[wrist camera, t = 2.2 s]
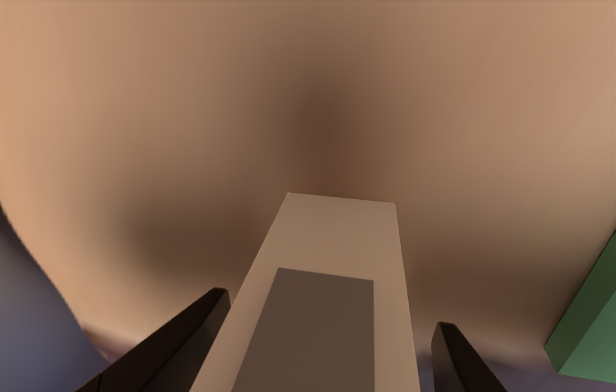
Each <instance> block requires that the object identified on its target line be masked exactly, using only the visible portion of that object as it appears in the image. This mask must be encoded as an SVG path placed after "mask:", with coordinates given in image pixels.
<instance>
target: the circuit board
mask: <svg viewBox="0 0 616 392" xmlns="http://www.w3.org/2000/svg"><path fill="white" fill-rule="evenodd" d="M544 349H545V351H546V353H547V355H548V357H549V358H550V360H551V362H552V364H553V366H554V368H555V370H556V372H557V373H558V374H562V375H568V376H574V377H580V378H586V379H592V380H598V381H604V382H610V383H616V232H615V233H614V235H613V236H612V238H611V240H610V241H609V243H608V245H607V246H606V248H605V249H604V251H603V253H602V254H601V256H600V257H599V259H598V261H597V262H596V264H595V266H594V267H593V269H592V270H591V272H590V274H589V275H588V277H587V279H586V280H585V282H584V283H583V285H582V287H581V288H580V290H579V291H578V293H577V295H576V296H575V298H574V300H573V301H572V303H571V304H570V306H569V308H568V309H567V311H566V313H565V314H564V316H563V317H562V319H561V321H560V322H559V324H558V325H557V327H556V329H555V330H554V332H553V334H552V335H551V337H550V338H549V340H548V342H547V343H546V345H545V347H544Z"/></svg>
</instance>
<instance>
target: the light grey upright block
mask: <svg viewBox="0 0 616 392" xmlns="http://www.w3.org/2000/svg"><path fill="white" fill-rule="evenodd" d="M189 392H420V385H419V377H418V370H417V362H416V355H415V347H414V340H413V333H412V325H411V318H410V310H409V303H408V295H407V288H406V280H405V273H404V266H403V258H402V251H401V243H400V236H399V228H398V221H397V213H396V206H395V203H388V202H379V201H369V200H359V199H349V198H339V197H329V196H319V195H309V194H300V193H290V192H288V193H287V195H286V197H285V199H284V201H283V203H282V205H281V207H280V209H279V211H278V213H277V215H276V217H275V219H274V221H273V223H272V225H271V227H270V229H269V231H268V234H267V236H266V238H265V240H264V242H263V244H262V246H261V248H260V250H259V252H258V254H257V256H256V258H255V260H254V262H253V264H252V266H251V268H250V270H249V272H248V274H247V276H246V278H245V280H244V282H243V284H242V286H241V288H240V290H239V292H238V294H237V296H236V298H235V300H234V302H233V304H232V306H231V308H230V310H229V312H228V314H227V316H226V319H225V321H224V323H223V325H222V327H221V329H220V331H219V333H218V335H217V337H216V339H215V341H214V343H213V345H212V347H211V349H210V351H209V353H208V355H207V357H206V359H205V361H204V363H203V365H202V367H201V369H200V371H199V373H198V375H197V377H196V379H195V381H194V383H193V385H192V387H191V389H190V391H189Z"/></svg>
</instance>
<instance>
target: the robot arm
mask: <svg viewBox="0 0 616 392" xmlns="http://www.w3.org/2000/svg"><path fill="white" fill-rule="evenodd" d="M230 308H231V306H230V299H229V293H228V290H227V289H224V288H218V287H215V288H213V289H211V290H210V291H208V292H207V293H206V294H204V295H203V296H202V297H200V298H199V299H198V300H196V301H195V302H194V303H192V304H191V305H190V306H188V307H187V308H186V309H184V310H183V311H182V312H180V313H179V314H178V315H176V316H175V317H174V318H172V319H171V320H170V321H168V322H167V323H166V324H164V325H163V326H162V327H160V328H159V329H158V330H156V331H155V332H154V333H152V334H151V335H150V336H148V337H147V338H146V339H144V340H143V341H142V342H140V343H139V344H138V345H136V346H135V347H134V348H132V349H131V350H130V351H128V352H127V353H126V354H124V355H123V356H122V357H120V358H119V359H118V360H116V361H115V362H114V363H112V364H111V365H110V366H108V367H107V368H106V369H104V370H103V373H99V374H98V375H96V376H95V377H94V378H92V379H91V380H90V381H88V382H87V383H86V384H84V385H83V386H81V387H80V388H79V389H77V390H76V391H74V392H189V391H190V389H191V387H192V385H193V383H194V381H195V379H196V377H197V375H198V373H199V371H200V369H201V367H202V365H203V363H204V361H205V359H206V357H207V355H208V353H209V351H210V349H211V347H212V345H213V343H214V341H215V339H216V337H217V335H218V333H219V331H220V329H221V327H222V325H223V323H224V321H225V319H226V316H227V314H228V312H229V310H230ZM431 351H432V363H433V375H434V388H435V392H507V391H506V389H505V388H504V387H503V385H502V384H501V383H500V382H499V380H498V379H497V378H496V376H495V375H494V374H493V373H492V371H491V370H490V369H489V367H488V366H487V365H486V364H485V362H484V361H483V360H482V358H481V357H480V356H479V355H478V353H477V352H476V351H475V349H474V348H473V347H472V346H471V344H470V343H469V342H468V340H467V339H466V338H465V337H464V335H463V334H462V333H461V331H460V330H459V329H458V328H457V326H456V325H454V324H453V323H447V322H438V324H437V326H436V329H435V332H434V335H433V338H432V343H431Z"/></svg>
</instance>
